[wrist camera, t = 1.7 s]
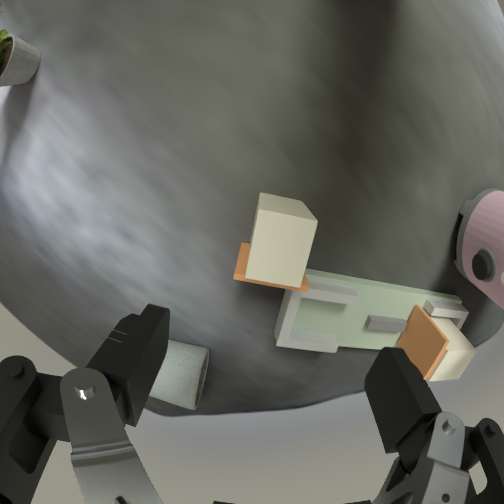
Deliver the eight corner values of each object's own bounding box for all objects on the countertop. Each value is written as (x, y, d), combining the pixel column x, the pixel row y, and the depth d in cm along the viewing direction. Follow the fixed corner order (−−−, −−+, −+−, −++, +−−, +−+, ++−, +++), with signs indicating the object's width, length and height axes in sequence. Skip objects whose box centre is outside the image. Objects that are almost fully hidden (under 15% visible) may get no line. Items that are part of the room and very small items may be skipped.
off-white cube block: (251, 190, 26) (246, 206, 18) (310, 202, 26) (329, 223, 18) (241, 246, 27) (232, 282, 20) (296, 256, 28) (308, 295, 20)
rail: (291, 265, 28) (303, 317, 19) (456, 295, 28) (497, 335, 20) (274, 329, 31) (276, 392, 22) (431, 345, 31) (462, 390, 22)
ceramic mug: (145, 321, 31) (120, 362, 24) (211, 335, 31) (199, 382, 24) (150, 378, 35) (133, 418, 28) (206, 391, 35) (196, 434, 28)
